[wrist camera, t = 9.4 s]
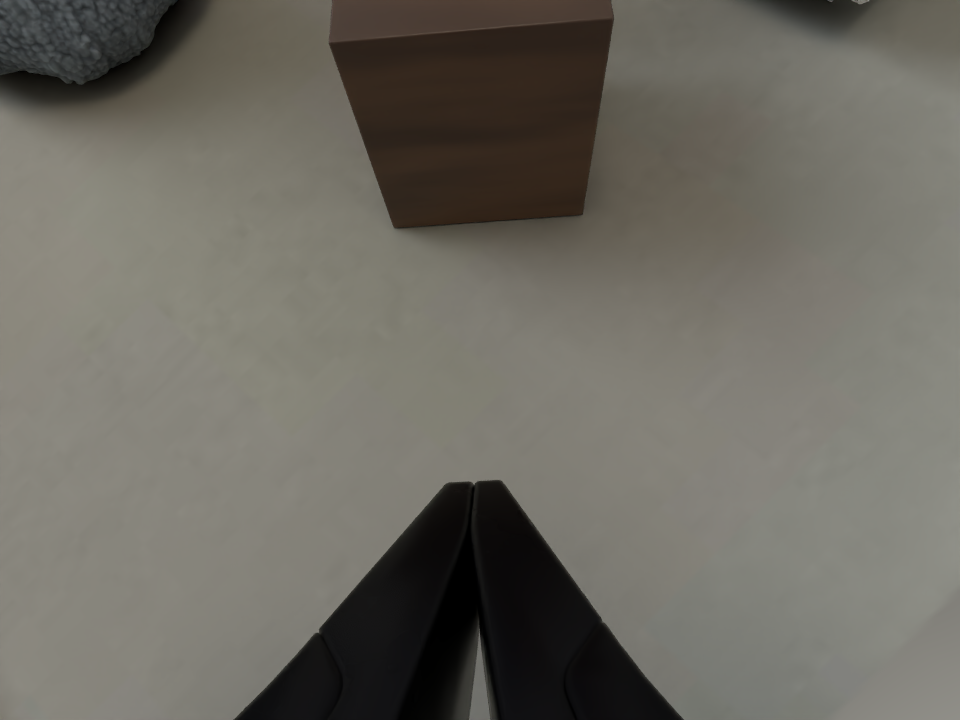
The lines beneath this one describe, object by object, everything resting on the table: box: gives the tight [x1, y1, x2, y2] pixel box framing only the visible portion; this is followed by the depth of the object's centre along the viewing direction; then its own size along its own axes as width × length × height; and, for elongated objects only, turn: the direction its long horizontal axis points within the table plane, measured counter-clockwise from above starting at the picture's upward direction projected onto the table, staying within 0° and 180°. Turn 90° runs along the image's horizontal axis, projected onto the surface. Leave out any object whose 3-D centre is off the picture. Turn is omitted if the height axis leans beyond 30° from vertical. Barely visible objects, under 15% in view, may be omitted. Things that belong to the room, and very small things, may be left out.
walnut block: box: [329, 0, 614, 228], centre depth 22 cm, size 8×8×9 cm
